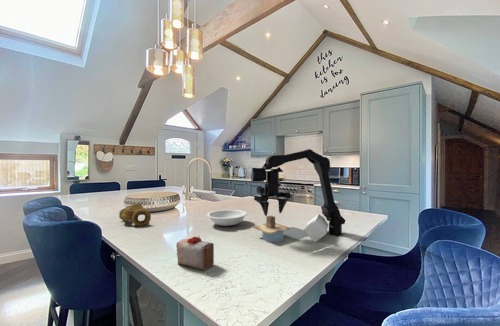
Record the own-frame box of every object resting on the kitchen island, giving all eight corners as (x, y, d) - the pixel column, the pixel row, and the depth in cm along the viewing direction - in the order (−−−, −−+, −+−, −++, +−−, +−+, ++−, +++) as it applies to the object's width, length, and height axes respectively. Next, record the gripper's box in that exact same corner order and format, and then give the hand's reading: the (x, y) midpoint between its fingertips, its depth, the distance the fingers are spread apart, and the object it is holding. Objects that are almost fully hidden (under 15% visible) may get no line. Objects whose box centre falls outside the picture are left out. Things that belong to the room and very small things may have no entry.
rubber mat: (293, 227, 126) (293, 226, 126) (316, 234, 113) (316, 233, 113) (271, 233, 117) (271, 232, 117) (294, 241, 104) (294, 240, 104)
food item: (172, 265, 81) (172, 237, 81) (188, 256, 88) (188, 231, 88) (203, 273, 75) (203, 243, 75) (217, 263, 82) (216, 236, 82)
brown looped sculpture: (153, 206, 155) (154, 206, 136) (146, 225, 152) (147, 228, 132) (124, 199, 148) (121, 198, 129) (116, 219, 145) (112, 221, 125)
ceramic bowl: (273, 234, 114) (273, 225, 114) (287, 240, 106) (287, 229, 106) (258, 238, 108) (258, 228, 108) (272, 244, 100) (271, 233, 100)
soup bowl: (202, 222, 140) (202, 211, 140) (238, 218, 150) (238, 208, 150) (213, 232, 118) (213, 220, 118) (254, 227, 128) (254, 215, 128)
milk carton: (314, 243, 102) (318, 231, 119) (326, 233, 100) (329, 222, 117) (303, 230, 103) (309, 220, 121) (315, 221, 101) (319, 212, 119)
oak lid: (272, 223, 117) (272, 212, 117) (290, 228, 106) (290, 217, 106) (252, 227, 109) (251, 216, 110) (269, 234, 99) (269, 221, 99)
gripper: (275, 179, 119) (276, 209, 119) (247, 181, 108) (247, 214, 108) (291, 181, 110) (291, 212, 110) (261, 183, 99) (262, 218, 99)
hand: (273, 214), depth 107 cm, fingers open, 9 cm apart
